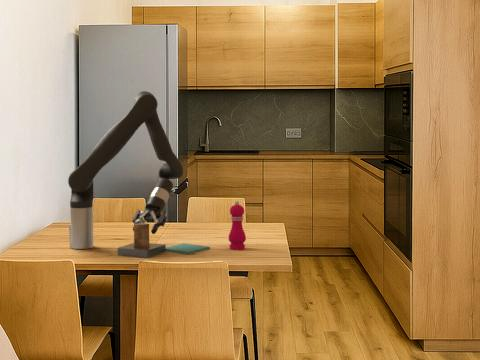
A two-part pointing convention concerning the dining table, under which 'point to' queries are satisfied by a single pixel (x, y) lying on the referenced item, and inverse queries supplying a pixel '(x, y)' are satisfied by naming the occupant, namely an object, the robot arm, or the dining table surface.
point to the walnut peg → (141, 235)
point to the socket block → (142, 250)
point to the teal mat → (186, 248)
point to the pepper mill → (237, 228)
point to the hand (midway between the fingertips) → (143, 232)
